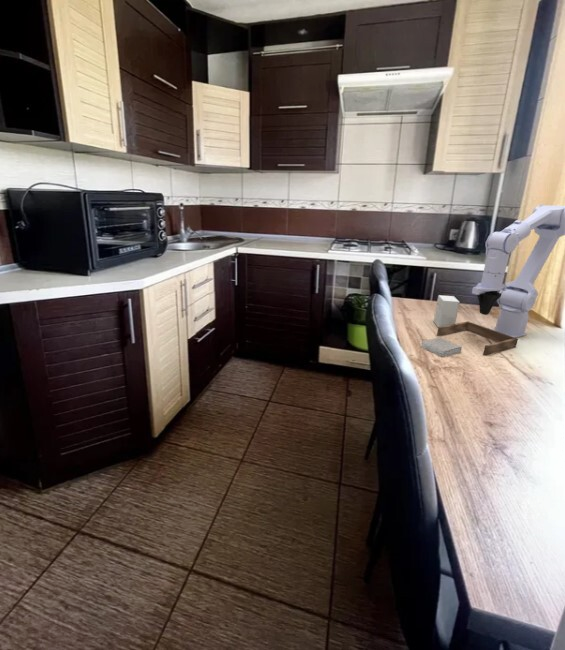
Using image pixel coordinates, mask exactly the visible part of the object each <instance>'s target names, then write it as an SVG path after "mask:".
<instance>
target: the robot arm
mask: <svg viewBox="0 0 565 650" xmlns="http://www.w3.org/2000/svg"><path fill="white" fill-rule="evenodd" d="M533 230H534V233H535V234H536V235H538V236H539V237H538V239H537V241H536V243H535V245H534V246H533V248H532V250H531V252H530V254H529V256H528V257H527V259H526V260H525V263H524V265H523V267H522V268H521V270H520V272H519V273H518V275H517V278H516V279H515V280H511V281H509V282H506V283H503V282H504V277H505V273H506V271H507V266H508V262H509V259H510V254H511V253H513V252H514V251H515V249H516V248H517V246H519V243H520V242H522V241H523V240H524V239H526V238H528V237H529V236H530V234H531V232H532V231H533ZM563 236H565V205H548V204H547V205H545V204H539V205H537V206H536V207H534V208H533V211H532V213H531V214H530V215H528V217H527V218H525V219H524V220H515V221H513V223H511V224H510V225H509V226H507V227H505V228H504V229H502V230H501V231H494V232H492V233H490V234H489V235H488V237H487V239H486V241H485V256H486V259H485V264H484V267H483V271H482V278H481V279H480V282H479V283H477V284H476V286H473V287H472V289H471V294H472V295H476V296H477V299H478V303H479V314H481V315H485V316H488V315H489V314H490V312H491V311H492V308H493V307H494V306H495V304H496V303H497V304H498V307H499V308H500V310H499V313H498V318H497V321H496V326H495V328H490V329H491V330H494V331H497V332H500V333H503V334H506V335H509V336H512V337H515V338H520V337H523V336H527V335H528V333H527V332H526V328H527V326H528V323H529V318H530V315H529V311H531V310H532V309H533V308H534V306H535V304H536V301H537V297H538V295H539V292H538V290H537V288H536V287H535V286H534V283H535V282H536V280H537V278H538V277H539V274H540V273H541V271H542V269H543V267H544V266H545V264H546V262H547V260H548V258H549V257H550V255H551V254H552V252H553V250H554V248H555V246H556V244H557V243H558V241H559V239H560V238H561V237H563Z"/></svg>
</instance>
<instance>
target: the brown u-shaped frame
mask: <svg viewBox="0 0 565 650" xmlns="http://www.w3.org/2000/svg"><path fill="white" fill-rule="evenodd" d="M491 329H492V328H488V327H485V326H482V325H480V324H476V323H474V322H471V321H463V322H458V323H457V322H456V323H455V324H452V325H447V326H442V327H437V332H436V336H437V337H441V336H446V335H451V334H455V333H460V332H465V331H468V332H471V333H472V334H476V335H478V336H481V337H484V338H487V339H489V340H492V341H495V342H494V343H490V344H487V345H485V346H484V348H483V349H484V350H483V353H482V355H483V356H489V355H492V354H496V353H500V352H504V351H508V350H511V349H515V348H516V347H517V344H518V341H519V337H516V338H515V337H512V336H509V335H506V334H503V333H500V332H497V331H494V330H491Z"/></svg>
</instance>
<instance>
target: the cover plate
mask: <svg viewBox="0 0 565 650" xmlns="http://www.w3.org/2000/svg"><path fill="white" fill-rule="evenodd" d="M420 347H421V348H422V349H424V350H427V351H429V352H430V353H432V354H434V353H435V355H437V356H439V357H440V358H445V356H446V357H450V356H453V354H454V355H457V354H461V353H462V348H463V346H461V345H460V344H457V343H454V342H452V341H450V340H448V339H445V338H443V337H441V336H438V337H435V338H430V339H425V340H422V341H421V346H420Z"/></svg>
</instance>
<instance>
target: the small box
mask: <svg viewBox="0 0 565 650" xmlns="http://www.w3.org/2000/svg"><path fill="white" fill-rule="evenodd" d="M460 303H461V302H460V301H459V300H458V299H457V298H456V297H455V296H454V295H441V294H439V295H438V296H437V300H436V306H435V313H434V317H433V322H434V323H435V325H436V326H437V328H438V327H442V326H447V325H452V324H457V322H456V321H457V317H458V313H459V306H460Z"/></svg>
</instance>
